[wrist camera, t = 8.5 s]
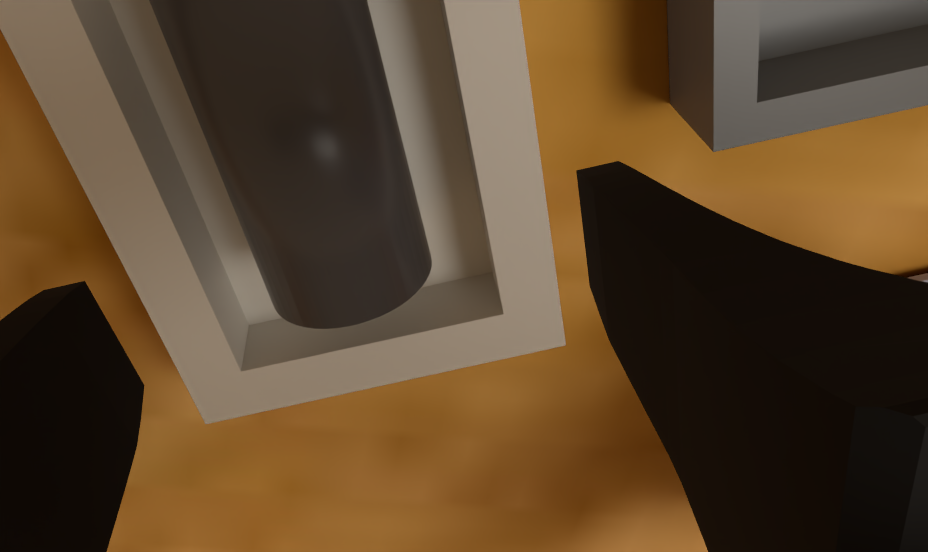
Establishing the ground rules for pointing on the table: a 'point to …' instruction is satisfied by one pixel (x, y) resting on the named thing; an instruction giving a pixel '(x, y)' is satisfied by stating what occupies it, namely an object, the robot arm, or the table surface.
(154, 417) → the table surface
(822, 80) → the bin
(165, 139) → the trough board
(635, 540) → the table surface
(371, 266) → the cylinder
